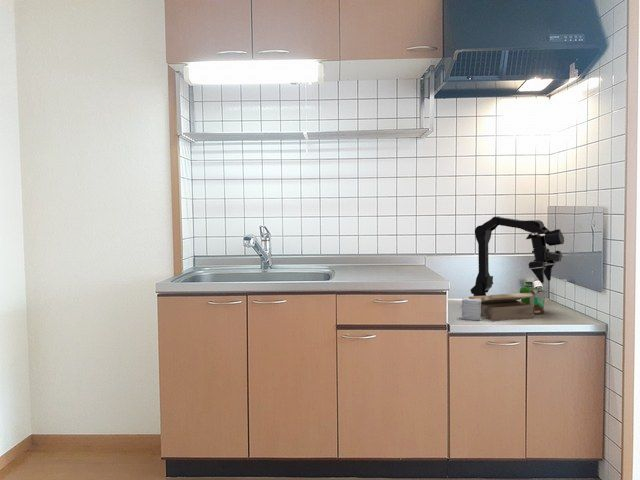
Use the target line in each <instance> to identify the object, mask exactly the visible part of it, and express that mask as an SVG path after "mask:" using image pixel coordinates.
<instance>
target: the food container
mask: <svg viewBox="0 0 640 480" xmlns="http://www.w3.org/2000/svg"><path fill="white" fill-rule="evenodd" d="M530 293H532V296H531V297H530V304H529V305H533V315H542V314H544V310H545V299H546V297H548V296H547V292H546V291H545V290H543V289H539V288H536V289H530Z"/></svg>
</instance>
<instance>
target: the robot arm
mask: <svg viewBox="0 0 640 480" xmlns="http://www.w3.org/2000/svg"><path fill="white" fill-rule="evenodd" d="M498 226H502V227H508V228H515V229H521V230H523V231H525V232H528V235H527V237H526V238H525V239H526V240H530V241H531V247H532V250H531V254H533V256H534V260H533V261H529V263H528V265H527V266H528V269H530V270H531V271H532V272H533V274H534V275H535V276H536V278H537V279H538V281H539V282H540V283H541V284H544V283H545V278H546V281H548V282H549V281H550V282H551V280H552V270H553V269H554V268H553V267H555V265H556V263H558V262H561V261H562V258H563V253H562V252H561V250H555V251H550V249H549V248H547V245H548V246H549V247H551V246H553V247H554V246H559V245H563V244H564V243H565V236H564V235H563V232H562V231H561V228H556V229H554V230H550V229H548V228H547V227H546V226H545V224H544V222H543V221H542V220H539V219H536V220H535V219H534V220H533V219H531V220H530V219H529V220H521V219H517V218H509V217H503V216H492V217H491V219H489V220H488V221H486V222H484V223H482V225H478V226H476V227H475V228H474V235H475V236H474V237H475V239H476V242H477V245H478V249H477V251H478V256H477V257H478V259H477V260H478V273H477V276H476V278H475V284H474V286H473V287H471V288H470V293H471V294H472V296H487V293H489V290H490V289H491V288H492V287H493V285H494V282H493V281H494V280H493V279H494V276H493V275H490V272H489V243H490V240H491V238H492V232H493V231H494V230H495V229H496V228H498ZM544 276H545V277H544Z"/></svg>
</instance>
